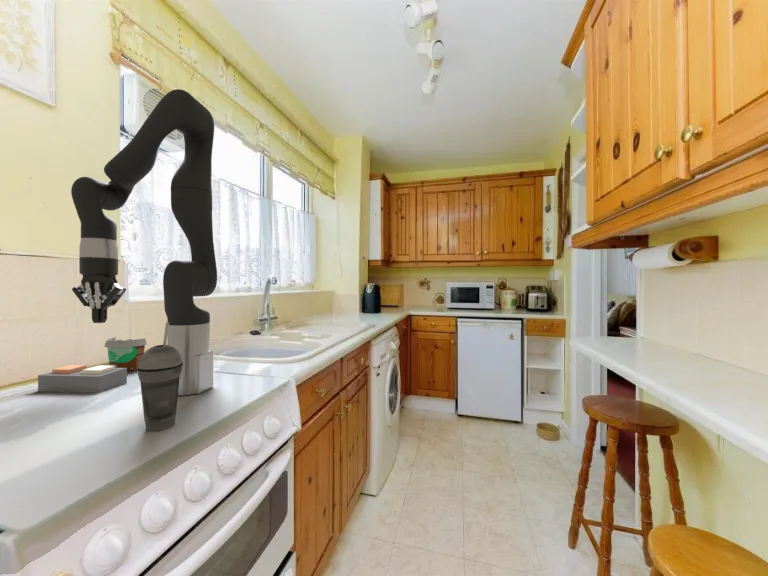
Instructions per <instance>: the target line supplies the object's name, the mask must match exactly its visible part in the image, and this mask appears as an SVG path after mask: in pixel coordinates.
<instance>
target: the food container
mask: <svg viewBox="0 0 768 576" xmlns="http://www.w3.org/2000/svg"><path fill="white" fill-rule="evenodd" d="M147 344H148V343H147V340H146V338H138V339H132V338H131V339H130V338H129V339H117V338H116V336H113V337H108V338H107V339H106V341H105V343H104V347H105V348H107V355H108V357H107V358H108V366H115V368H127V373H132V372H131V371H133V372H137V371H136V370H137V367H138V363H139V360H140V358H141V356H142V355H143V354H144V353H145V346H147Z"/></svg>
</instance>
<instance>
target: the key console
mask: <svg viewBox="0 0 768 576" xmlns="http://www.w3.org/2000/svg"><path fill="white" fill-rule="evenodd" d="M92 367H93V366H87V369H88V368H92ZM127 382H128V372H127V368H115V370H114V371H111V372H107V373H104V374H101V375H82V371H80V372H76V373H72V374H52V371H50V372H45V373H42V374H38V375H37V392H58V393H59V392H60V393H61V392H63V393H74V392H75V393H101V392H105V391H107V390H110V389H112V388H115V387H118V386H120V385H123V384H126V383H127Z"/></svg>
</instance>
